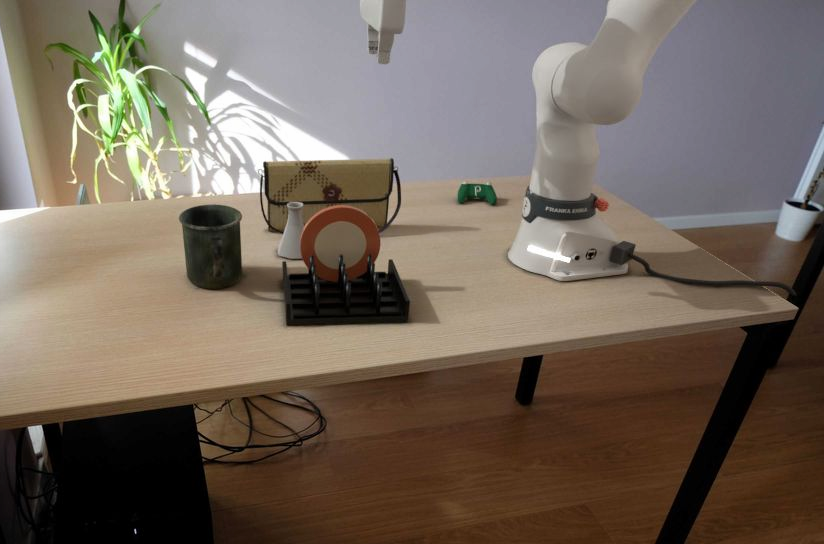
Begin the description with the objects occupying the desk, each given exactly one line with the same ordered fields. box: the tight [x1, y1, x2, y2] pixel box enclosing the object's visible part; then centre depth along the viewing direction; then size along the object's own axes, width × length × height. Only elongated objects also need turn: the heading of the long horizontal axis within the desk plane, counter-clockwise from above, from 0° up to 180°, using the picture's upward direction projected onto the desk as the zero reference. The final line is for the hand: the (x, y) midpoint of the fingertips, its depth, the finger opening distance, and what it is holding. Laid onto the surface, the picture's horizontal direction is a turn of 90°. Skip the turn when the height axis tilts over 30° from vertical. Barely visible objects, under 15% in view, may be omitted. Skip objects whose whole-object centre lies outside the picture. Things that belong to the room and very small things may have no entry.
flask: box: [277, 202, 304, 260], centre depth 129 cm, size 7×7×10 cm
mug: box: [178, 204, 243, 290], centre depth 117 cm, size 11×15×12 cm
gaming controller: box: [457, 180, 498, 206], centre depth 158 cm, size 9×4×6 cm
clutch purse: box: [257, 157, 402, 235], centre depth 137 cm, size 30×7×15 cm, turn 99°
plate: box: [300, 205, 381, 282], centre depth 115 cm, size 14×1×14 cm, turn 95°
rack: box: [281, 254, 411, 327], centre depth 113 cm, size 20×16×7 cm
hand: (377, 58), depth 104 cm, fingers open, 8 cm apart
